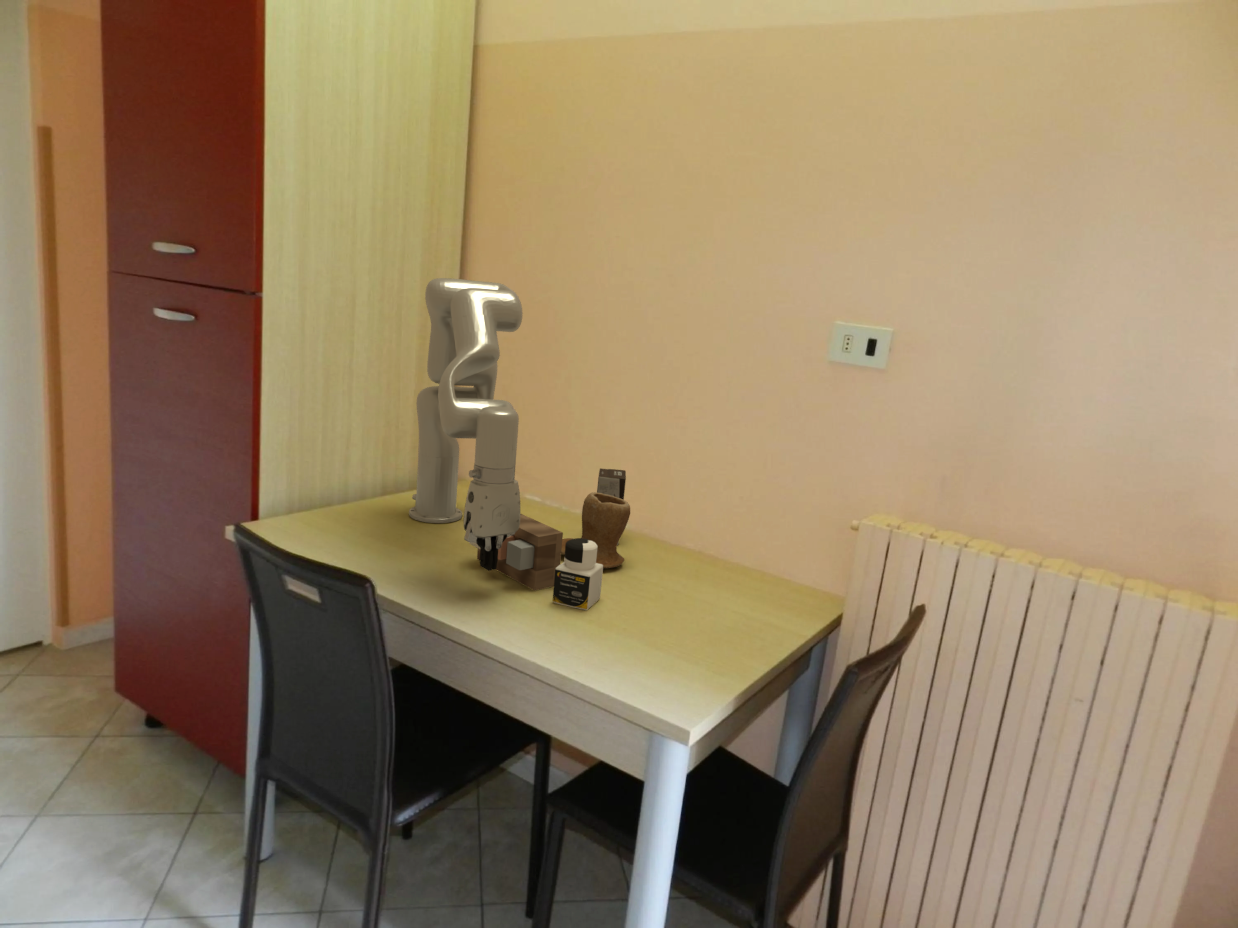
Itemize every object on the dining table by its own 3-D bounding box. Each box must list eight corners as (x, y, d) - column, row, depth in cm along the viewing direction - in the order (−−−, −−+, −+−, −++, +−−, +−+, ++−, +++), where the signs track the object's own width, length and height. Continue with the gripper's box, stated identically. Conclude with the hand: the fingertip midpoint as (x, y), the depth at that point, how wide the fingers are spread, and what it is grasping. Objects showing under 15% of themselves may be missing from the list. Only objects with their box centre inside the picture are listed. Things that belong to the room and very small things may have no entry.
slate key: (506, 563, 166) (507, 541, 165) (522, 559, 169) (524, 538, 168) (519, 570, 163) (521, 548, 162) (536, 566, 166) (538, 545, 165)
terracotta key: (487, 553, 171) (488, 532, 170) (503, 550, 174) (505, 529, 173) (500, 559, 168) (501, 538, 167) (516, 556, 171) (518, 535, 170)
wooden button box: (476, 559, 179) (480, 509, 177) (500, 554, 183) (503, 505, 181) (534, 590, 165) (538, 536, 163) (558, 585, 169) (563, 532, 167)
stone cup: (636, 564, 186) (643, 498, 183) (600, 576, 177) (607, 507, 173) (584, 545, 195) (590, 482, 192) (548, 555, 186) (554, 489, 183)
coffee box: (619, 545, 197) (626, 478, 194) (591, 543, 197) (597, 476, 194) (619, 534, 206) (626, 469, 203) (593, 531, 206) (599, 467, 203)
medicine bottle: (551, 602, 160) (556, 542, 158) (566, 591, 167) (571, 532, 164) (586, 611, 158) (592, 550, 155) (600, 598, 165) (606, 539, 162)
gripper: (471, 482, 149) (465, 581, 153) (538, 475, 159) (531, 567, 163) (448, 472, 154) (443, 568, 158) (515, 466, 164) (508, 555, 168)
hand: (488, 567), depth 161 cm, fingers closed
